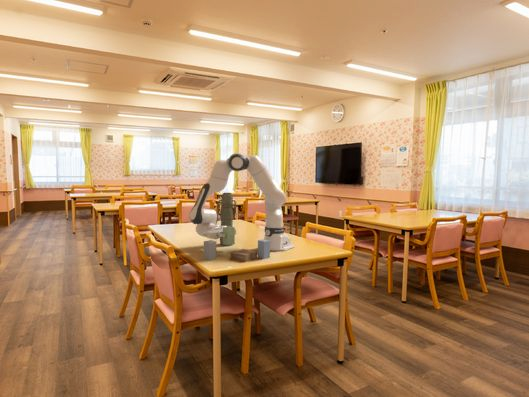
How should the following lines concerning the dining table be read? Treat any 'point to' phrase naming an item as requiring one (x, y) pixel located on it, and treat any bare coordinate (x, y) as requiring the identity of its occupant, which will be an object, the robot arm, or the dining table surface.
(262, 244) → the blue block
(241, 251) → the walnut brick
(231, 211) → the thermos
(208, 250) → the grey block
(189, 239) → the dining table surface
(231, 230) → the green block
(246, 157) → the robot arm
